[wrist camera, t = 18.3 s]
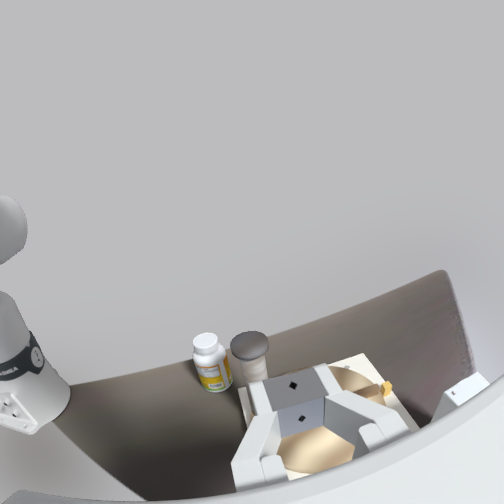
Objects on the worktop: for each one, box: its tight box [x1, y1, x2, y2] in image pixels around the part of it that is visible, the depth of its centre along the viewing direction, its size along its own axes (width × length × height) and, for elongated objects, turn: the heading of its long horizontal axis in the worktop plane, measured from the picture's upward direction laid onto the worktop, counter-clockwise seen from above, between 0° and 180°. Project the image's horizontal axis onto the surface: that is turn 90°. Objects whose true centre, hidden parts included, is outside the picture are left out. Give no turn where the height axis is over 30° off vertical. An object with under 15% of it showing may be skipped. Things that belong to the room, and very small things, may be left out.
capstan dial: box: [230, 331, 386, 474], centre depth 35 cm, size 19×19×14 cm
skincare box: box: [430, 372, 490, 423], centre depth 27 cm, size 6×4×12 cm
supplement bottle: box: [193, 333, 232, 392], centre depth 48 cm, size 5×5×10 cm
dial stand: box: [238, 353, 420, 481], centre depth 38 cm, size 22×20×4 cm
